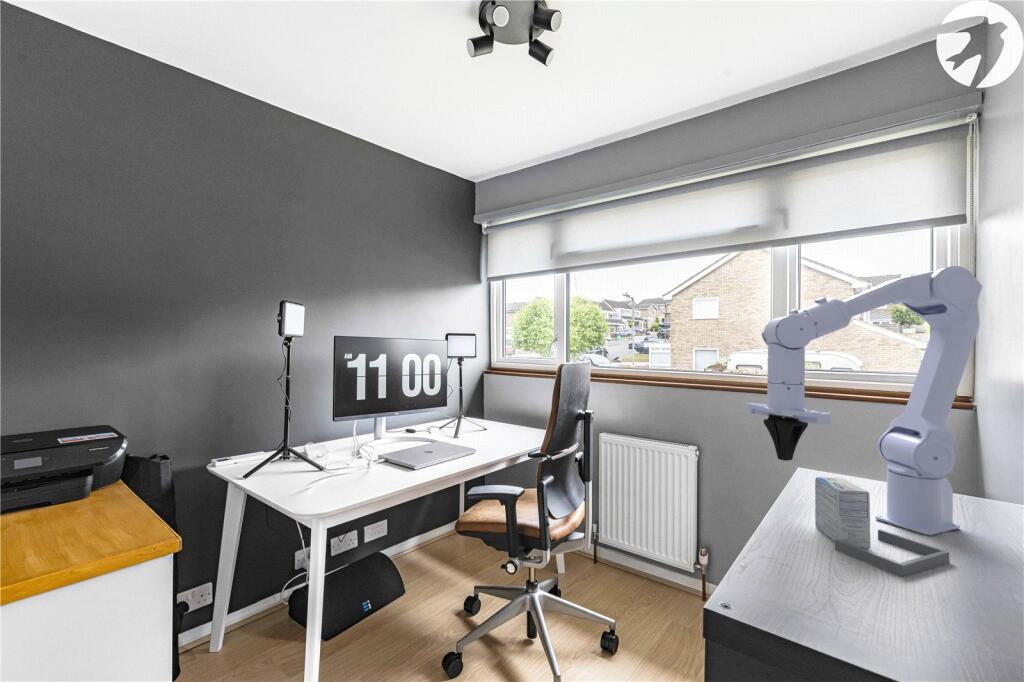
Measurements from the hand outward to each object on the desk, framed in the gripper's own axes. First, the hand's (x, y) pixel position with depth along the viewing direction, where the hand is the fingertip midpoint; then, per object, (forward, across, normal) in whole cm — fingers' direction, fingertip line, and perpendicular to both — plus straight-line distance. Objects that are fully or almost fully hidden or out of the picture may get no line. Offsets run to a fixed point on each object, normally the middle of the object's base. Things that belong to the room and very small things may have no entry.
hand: (785, 459), depth 81 cm
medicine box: (+10, +10, 0) cm, 14 cm away
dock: (+10, +16, 0) cm, 19 cm away
